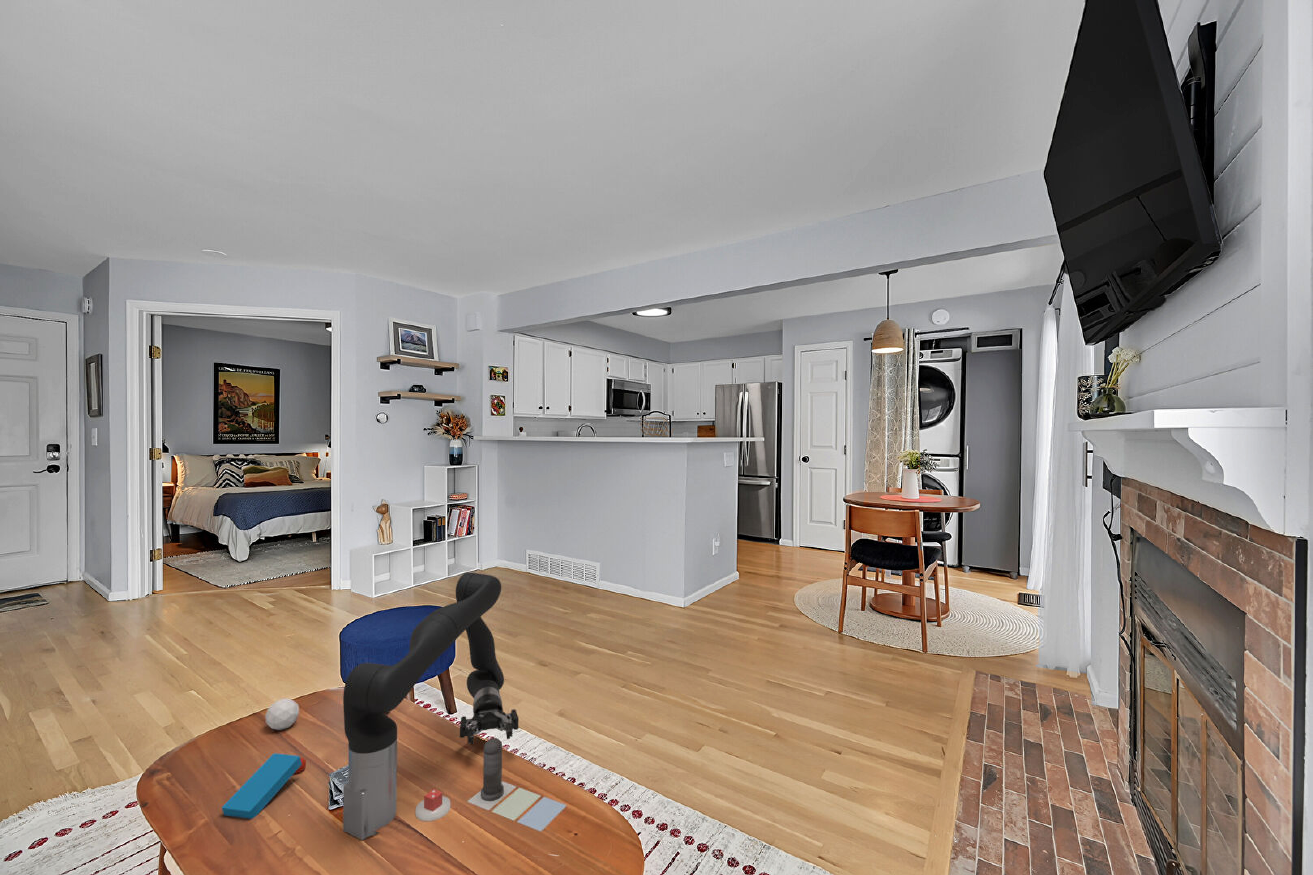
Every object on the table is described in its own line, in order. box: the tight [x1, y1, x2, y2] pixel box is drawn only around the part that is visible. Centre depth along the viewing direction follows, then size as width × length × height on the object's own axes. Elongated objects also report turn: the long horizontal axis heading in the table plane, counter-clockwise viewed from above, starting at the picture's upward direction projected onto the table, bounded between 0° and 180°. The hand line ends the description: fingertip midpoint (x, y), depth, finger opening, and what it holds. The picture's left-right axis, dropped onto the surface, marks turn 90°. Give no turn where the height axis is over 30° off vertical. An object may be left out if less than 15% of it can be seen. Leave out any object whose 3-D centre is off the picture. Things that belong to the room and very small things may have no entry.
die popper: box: [415, 789, 451, 822], centre depth 123 cm, size 7×7×5 cm
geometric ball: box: [264, 698, 300, 731], centre depth 157 cm, size 8×8×8 cm
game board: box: [466, 781, 567, 832], centre depth 126 cm, size 11×21×1 cm, turn 64°
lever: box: [221, 752, 307, 820], centre depth 130 cm, size 7×7×18 cm
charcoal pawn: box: [480, 737, 504, 801], centre depth 129 cm, size 5×5×12 cm
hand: (490, 738), depth 139 cm, fingers open, 8 cm apart
